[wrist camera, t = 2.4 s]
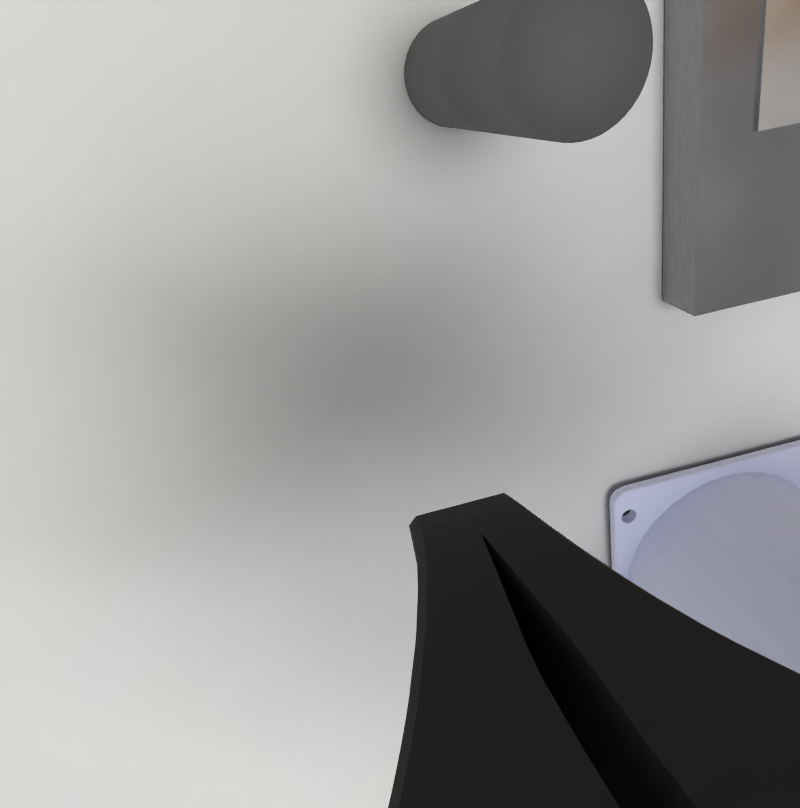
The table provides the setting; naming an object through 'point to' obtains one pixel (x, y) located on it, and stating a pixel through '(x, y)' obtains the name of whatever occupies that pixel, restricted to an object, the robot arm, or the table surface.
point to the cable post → (532, 67)
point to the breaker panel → (731, 152)
